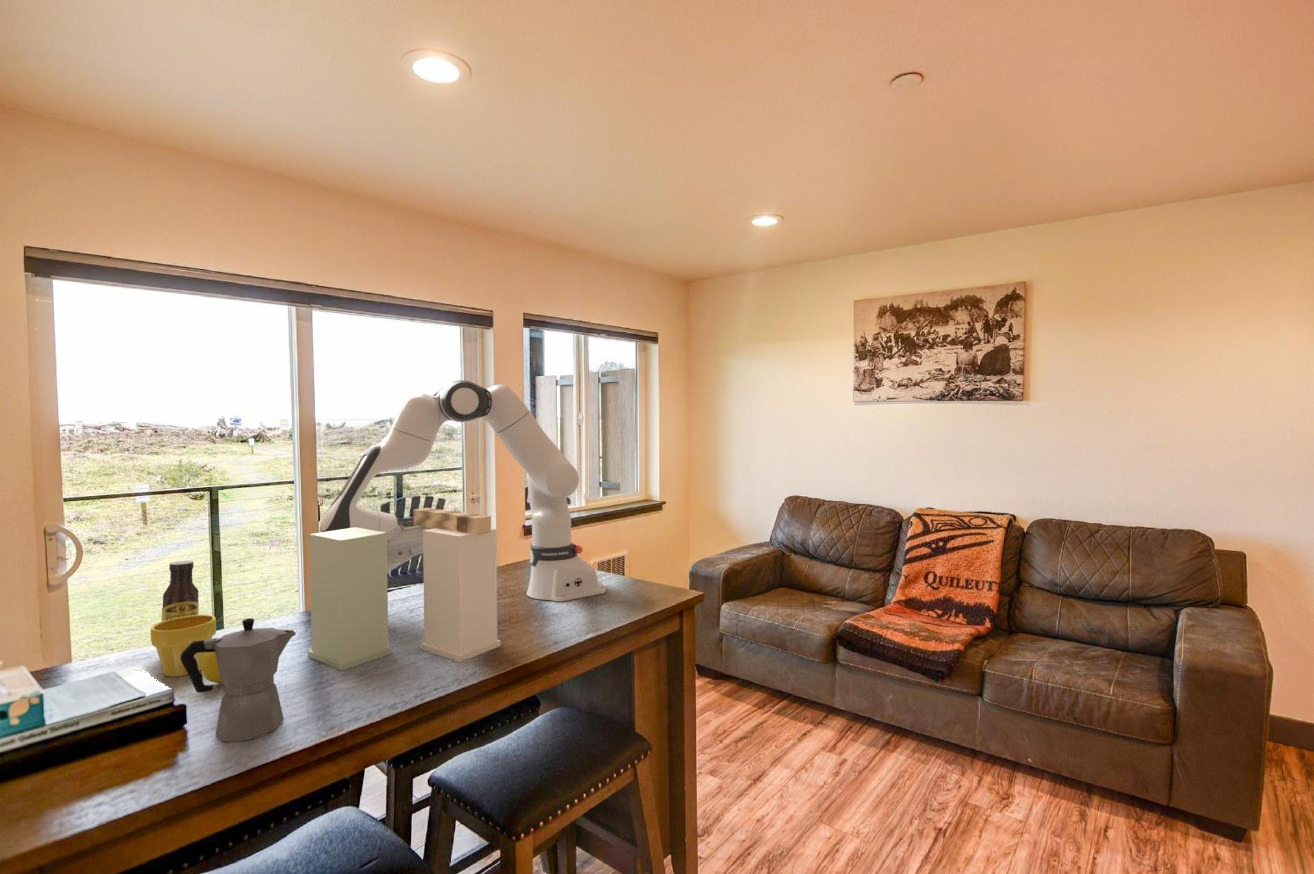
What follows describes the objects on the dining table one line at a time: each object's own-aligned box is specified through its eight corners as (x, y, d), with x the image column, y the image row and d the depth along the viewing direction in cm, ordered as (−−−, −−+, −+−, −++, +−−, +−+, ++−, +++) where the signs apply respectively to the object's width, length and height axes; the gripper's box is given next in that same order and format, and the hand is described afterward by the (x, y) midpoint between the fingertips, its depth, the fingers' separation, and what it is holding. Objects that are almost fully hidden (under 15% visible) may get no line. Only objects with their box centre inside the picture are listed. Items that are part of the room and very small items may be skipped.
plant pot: (161, 665, 127) (160, 617, 127) (222, 657, 131) (221, 611, 131) (144, 685, 118) (142, 633, 117) (210, 675, 122) (209, 626, 122)
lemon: (195, 688, 116) (194, 645, 116) (226, 676, 121) (225, 636, 121) (215, 693, 114) (214, 649, 114) (245, 681, 119) (244, 640, 119)
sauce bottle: (162, 663, 128) (159, 567, 127) (160, 655, 133) (158, 562, 132) (201, 655, 132) (199, 562, 132) (198, 647, 137) (196, 557, 136)
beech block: (413, 524, 142) (413, 509, 142) (427, 522, 145) (426, 507, 145) (477, 535, 130) (477, 518, 130) (490, 532, 133) (490, 516, 133)
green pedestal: (308, 656, 132) (306, 534, 131) (358, 641, 141) (356, 526, 140) (341, 670, 124) (339, 541, 123) (391, 653, 133) (390, 532, 133)
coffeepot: (296, 706, 109) (294, 604, 108) (298, 729, 101) (296, 619, 100) (186, 730, 101) (183, 620, 100) (179, 757, 93) (176, 637, 92)
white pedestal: (421, 649, 136) (419, 530, 135) (462, 634, 145) (461, 523, 144) (459, 662, 129) (458, 536, 128) (500, 645, 138) (499, 529, 137)
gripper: (344, 544, 143) (373, 519, 136) (422, 530, 160) (451, 507, 153) (352, 569, 142) (382, 545, 135) (430, 553, 159) (460, 530, 152)
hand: (419, 525), depth 144 cm, fingers open, 8 cm apart
